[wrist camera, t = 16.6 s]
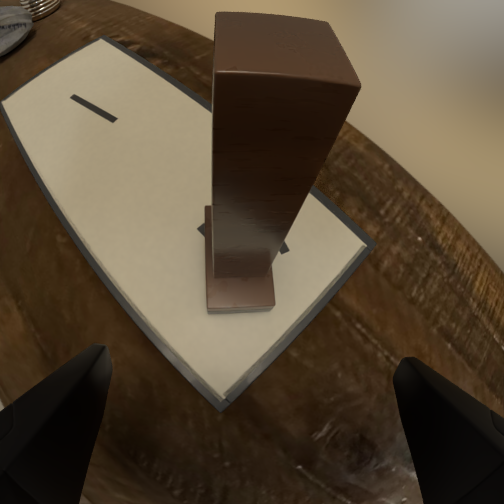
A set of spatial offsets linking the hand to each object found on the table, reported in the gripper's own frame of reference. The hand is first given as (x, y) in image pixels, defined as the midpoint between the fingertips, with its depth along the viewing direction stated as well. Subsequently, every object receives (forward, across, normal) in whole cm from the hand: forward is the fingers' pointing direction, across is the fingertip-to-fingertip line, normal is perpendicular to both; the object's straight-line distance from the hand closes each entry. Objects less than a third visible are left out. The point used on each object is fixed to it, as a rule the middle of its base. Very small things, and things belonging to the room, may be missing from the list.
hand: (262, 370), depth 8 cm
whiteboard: (+17, +10, -4) cm, 20 cm away
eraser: (+10, 0, +2) cm, 11 cm away
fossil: (+32, +38, -19) cm, 53 cm away
